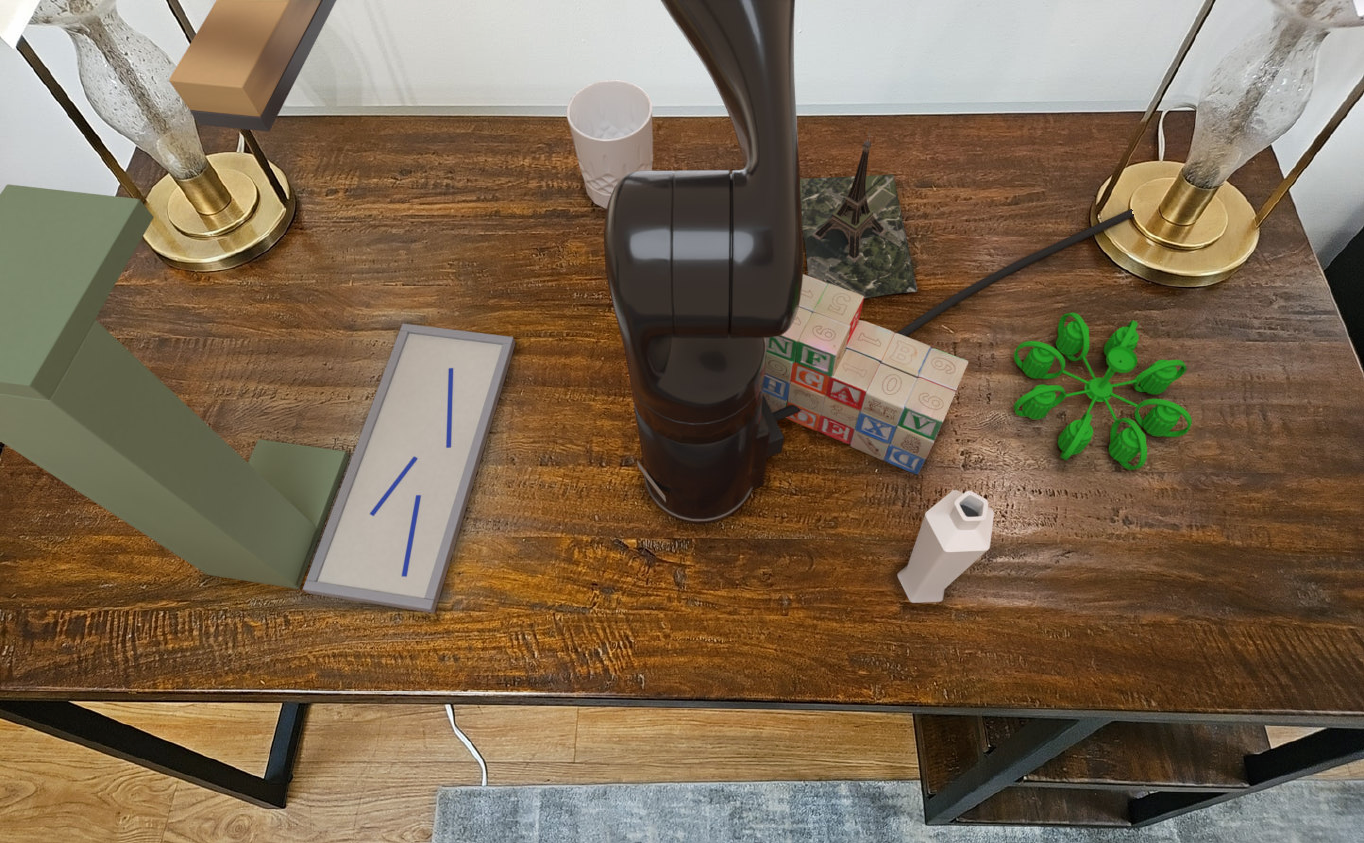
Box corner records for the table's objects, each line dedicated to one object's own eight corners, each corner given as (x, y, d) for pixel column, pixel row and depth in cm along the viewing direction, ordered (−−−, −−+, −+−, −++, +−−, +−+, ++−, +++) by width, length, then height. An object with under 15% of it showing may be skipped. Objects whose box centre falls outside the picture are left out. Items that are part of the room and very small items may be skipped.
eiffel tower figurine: (919, 297, 83) (953, 197, 71) (810, 304, 83) (827, 205, 71) (892, 177, 90) (919, 68, 78) (792, 183, 90) (804, 75, 78)
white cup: (672, 175, 91) (668, 98, 82) (629, 227, 88) (620, 152, 79) (609, 147, 93) (598, 68, 84) (565, 196, 90) (549, 120, 81)
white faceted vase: (946, 551, 71) (1000, 471, 58) (956, 604, 69) (1014, 534, 56) (889, 553, 71) (929, 474, 58) (897, 607, 69) (941, 537, 56)
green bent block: (263, 444, 77) (6, 183, 49) (350, 456, 77) (139, 198, 48) (206, 574, 72) (-119, 365, 44) (299, 589, 71) (28, 385, 43)
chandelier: (1132, 315, 81) (1167, 267, 75) (1213, 459, 74) (1258, 419, 68) (976, 346, 80) (998, 301, 74) (1043, 496, 73) (1073, 459, 67)
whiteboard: (405, 329, 83) (402, 323, 82) (515, 343, 82) (513, 336, 81) (307, 593, 71) (302, 589, 70) (434, 613, 70) (430, 609, 69)
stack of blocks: (943, 418, 77) (981, 339, 66) (917, 477, 74) (952, 405, 63) (721, 326, 82) (723, 239, 71) (690, 378, 79) (686, 296, 68)
